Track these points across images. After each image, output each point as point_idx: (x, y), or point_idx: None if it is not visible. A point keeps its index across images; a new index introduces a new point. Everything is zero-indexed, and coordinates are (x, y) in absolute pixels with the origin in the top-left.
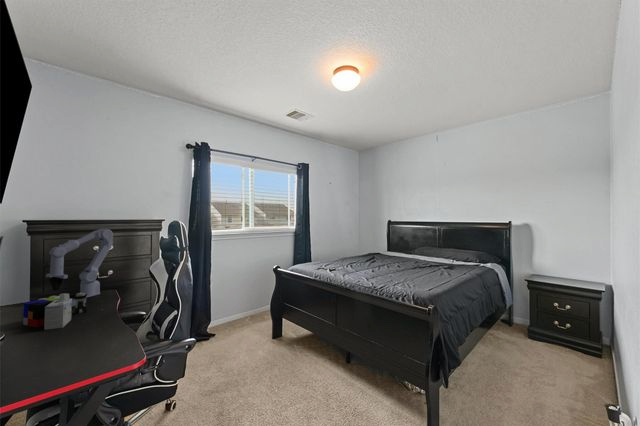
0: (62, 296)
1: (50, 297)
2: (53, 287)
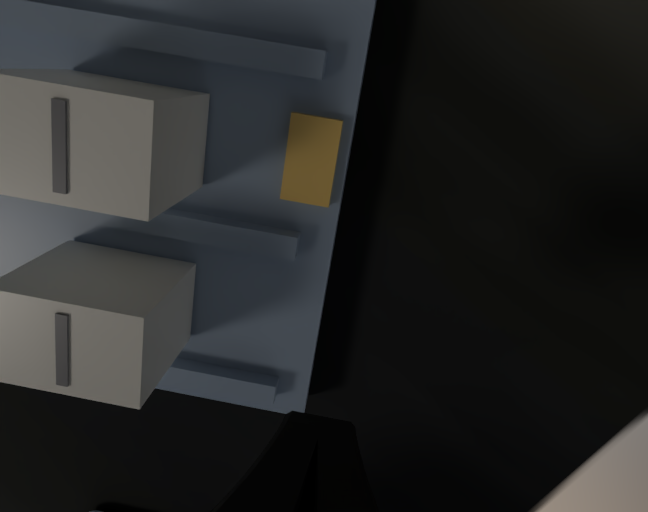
0: (63, 283)
1: (111, 93)
2: (315, 465)
